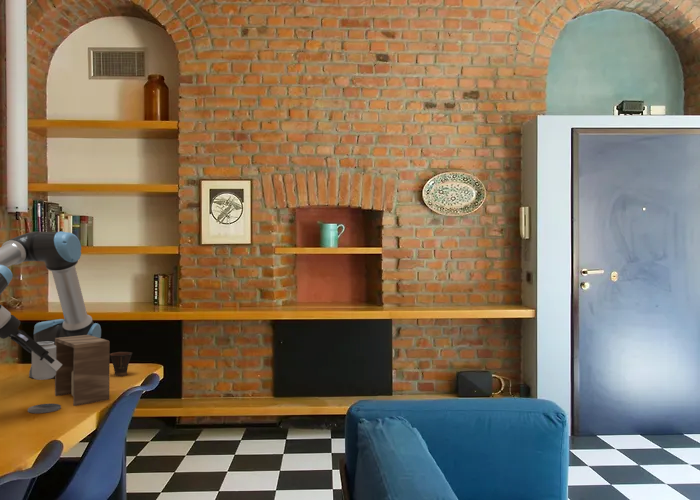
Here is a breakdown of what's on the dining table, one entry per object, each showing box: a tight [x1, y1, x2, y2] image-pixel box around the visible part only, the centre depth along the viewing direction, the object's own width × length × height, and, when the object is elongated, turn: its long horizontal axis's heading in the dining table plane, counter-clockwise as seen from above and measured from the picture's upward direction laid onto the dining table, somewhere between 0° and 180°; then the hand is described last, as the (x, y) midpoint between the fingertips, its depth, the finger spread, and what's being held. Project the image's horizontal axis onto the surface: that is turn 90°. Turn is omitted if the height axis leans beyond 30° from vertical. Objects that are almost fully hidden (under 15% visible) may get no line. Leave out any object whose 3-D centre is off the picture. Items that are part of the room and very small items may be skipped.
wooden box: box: [54, 335, 111, 407], centre depth 220 cm, size 19×12×21 cm, turn 45°
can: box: [31, 341, 56, 381], centre depth 204 cm, size 8×8×12 cm
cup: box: [110, 351, 133, 377], centre depth 256 cm, size 9×9×10 cm
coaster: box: [27, 403, 62, 415], centre depth 204 cm, size 10×10×1 cm
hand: (54, 365), depth 206 cm, fingers closed on can, 7 cm apart
